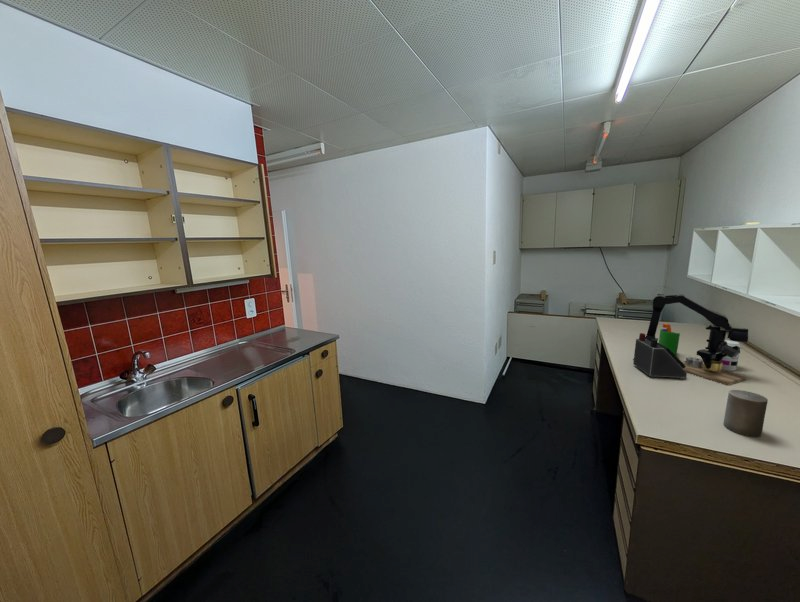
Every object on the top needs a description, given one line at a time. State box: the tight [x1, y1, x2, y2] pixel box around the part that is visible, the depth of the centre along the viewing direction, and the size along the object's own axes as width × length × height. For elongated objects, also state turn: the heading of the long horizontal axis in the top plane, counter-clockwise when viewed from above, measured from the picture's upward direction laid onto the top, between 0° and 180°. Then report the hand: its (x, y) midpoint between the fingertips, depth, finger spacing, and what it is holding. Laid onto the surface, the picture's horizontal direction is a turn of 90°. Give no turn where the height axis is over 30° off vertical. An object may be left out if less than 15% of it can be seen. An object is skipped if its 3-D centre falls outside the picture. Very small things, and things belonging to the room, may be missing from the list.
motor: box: [658, 323, 681, 356], centre depth 186 cm, size 10×9×20 cm
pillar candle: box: [723, 389, 768, 438], centre depth 113 cm, size 10×10×15 cm
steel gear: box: [685, 356, 704, 369], centre depth 167 cm, size 7×7×4 cm
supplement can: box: [721, 339, 741, 372], centre depth 166 cm, size 8×8×15 cm
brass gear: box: [703, 360, 723, 372], centre depth 160 cm, size 7×7×4 cm
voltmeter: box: [632, 332, 688, 380], centre depth 163 cm, size 16×16×20 cm
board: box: [681, 357, 748, 386], centre depth 161 cm, size 16×24×6 cm, turn 20°
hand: (712, 367), depth 160 cm, fingers closed on brass gear, 7 cm apart
